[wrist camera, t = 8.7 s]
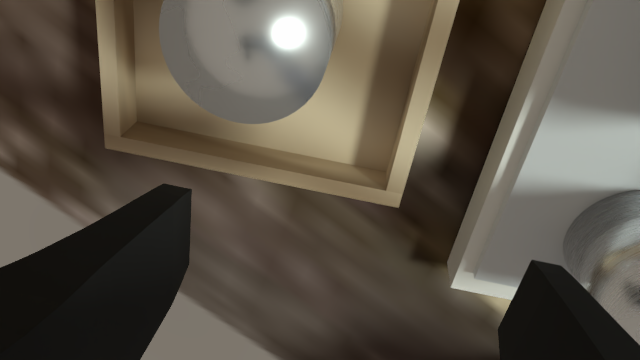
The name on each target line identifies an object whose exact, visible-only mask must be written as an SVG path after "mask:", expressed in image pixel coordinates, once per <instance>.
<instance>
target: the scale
mask: <svg viewBox="0 0 640 360" xmlns="http://www.w3.org/2000/svg"><path fill="white" fill-rule="evenodd" d="M631 190H640V0H546V3H545V6H544V8H543V11H542V14H541V16H540V19H539V21H538V24H537V27H536V29H535V32H534V35H533V37H532V40H531V43H530V45H529V48H528V50H527V53H526V56H525V58H524V61H523V64H522V66H521V69H520V71H519V74H518V77H517V79H516V82H515V85H514V87H513V90H512V93H511V95H510V98H509V100H508V103H507V106H506V108H505V111H504V114H503V116H502V119H501V121H500V124H499V127H498V129H497V132H496V135H495V137H494V140H493V143H492V145H491V148H490V150H489V153H488V156H487V158H486V161H485V164H484V166H483V169H482V171H481V174H480V177H479V179H478V182H477V185H476V187H475V190H474V192H473V195H472V198H471V200H470V203H469V206H468V208H467V211H466V214H465V216H464V219H463V221H462V224H461V227H460V229H459V232H458V235H457V237H456V240H455V242H454V245H453V248H452V250H451V253H450V256H449V258H448V261H447V266H448V273H449V280H450V286H451V288H455V289H460V290H465V291H470V292H475V293H479V294H484V295H489V296H494V297H499V298H504V299H509V300H512V299H513V297H514V295H515V293H516V291H517V289H518V287H519V285H520V282H521V280H522V278H523V276H524V274H525V272H526V270H527V268H528V266H529V264H530V262H531V260H536V261H541V262H546V263H551V264H556V265H561V266H562V267H563V268H564V269H565V270H567V271H568V272H569V273H570V271H569V269H568V267H567V265H566V263H565V260H564V256H563V242H564V238H565V235H566V233H567V230H568V229H569V227H570V225H571V224H572V222H573V221H574V220H575V219H576V218H577V217H578V216H579V215H580V214H581V213H582V212H583V211H584V210H585V209H587V208H588V207H589V206H591V205H592V204H594V203H596V202H597V201H599V200H601V199H604V198H606V197H608V196H611V195H614V194H617V193H621V192H625V191H631Z"/></svg>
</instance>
